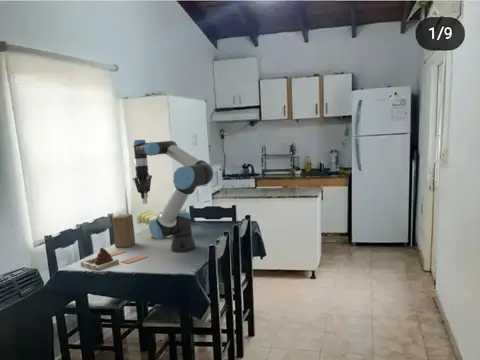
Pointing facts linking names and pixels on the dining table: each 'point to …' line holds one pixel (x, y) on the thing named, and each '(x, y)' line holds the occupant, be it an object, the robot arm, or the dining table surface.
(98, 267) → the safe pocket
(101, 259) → the poop emoji
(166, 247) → the dining table surface
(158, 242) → the dining table surface
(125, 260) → the pads
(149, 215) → the slatted curved stool
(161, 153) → the robot arm
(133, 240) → the wooden block
